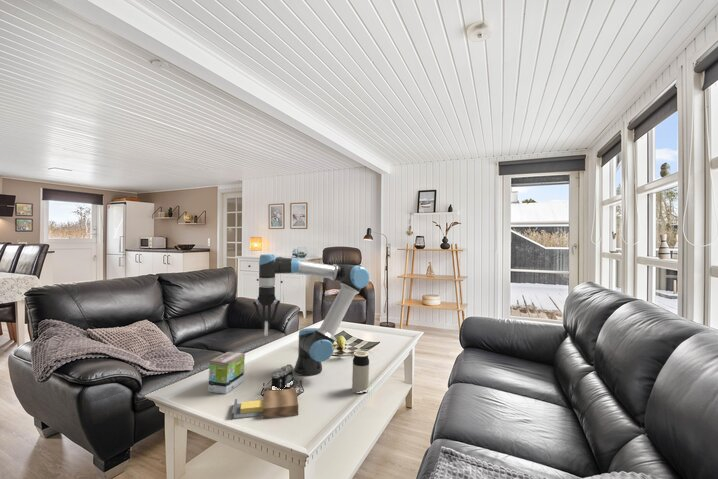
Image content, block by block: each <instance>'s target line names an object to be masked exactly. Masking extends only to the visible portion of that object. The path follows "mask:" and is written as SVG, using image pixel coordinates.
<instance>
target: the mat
mask: <svg viewBox="0 0 718 479" xmlns="http://www.w3.org/2000/svg"><path fill="white" fill-rule="evenodd" d="M241 403H242V402H241ZM241 403H238V399H237V398H235V399H234V403H233V406H232V411H231V420H238V419H249V418H254V417H255V418H256V417H257V418H258V417H263V412H253V413H243V414H240V409H241Z"/></svg>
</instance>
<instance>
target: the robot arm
mask: <svg viewBox="0 0 718 479" xmlns="http://www.w3.org/2000/svg"><path fill="white" fill-rule="evenodd" d="M258 260H259V263H258V268H259V269H258V271H259V272H258V296H257V299H255V300H253V301H252V304H253V306H254V307H255V312H256V316H257V320H258V322H261V328H262V330H264V333H263V334H264V337H268V334H269V329H271V322H272V321H275V319H276V314H277V311H278V307H279V304H280V303H281V300H280V299H277V297H276V293H275V292H276V287H275V286H276V275H279V274H298V275H304V276H305V275H306V276H312V277H317V278H325V279H330V280H331V281H334V282H339V284H340V289H339V291H338V293H337V295H336V296H335V298H334V300H333V302H332V303H331V306H330V308H329V310H328V312H327V313H326V315H325V317H324V320H323V321H322V323H321V325H320V327H319V328H318V327H317V328H316V327H311V328H310V327H308V328H302V329H300V330H299V332H298V353H297V354H298V355H297V359H296V362H295V365H294V372H295V374H297V375H300V376H308V377H309V376H314V375H315V374H316V375H318V374H317V373H319V372H320V373H322V371H323V364H322V362H326V361H328V360H330V358H331V357H332V356H333V354H334V343H335V341H336V338H335V335H336V333H337V331H338V329H339V327H340V325H341V323H342V321H343V319H344V317H345V316H346V314H347V312H348V309H349V307H350V305H351V304H352V302H353V299H354V298H355V296H356V295H358V294H360V292H361V290H362V289H364V288H365V287H367V285H368V284H369V282H370V273H369V271H368V269H366V268H365V267H363V266H361V265H353V264H337V263H333V264H326V263H321V262H313V261H307V260H300V259H298V258H295V257H289V258H288V257H282V256H277V257H276V254H271V253H270V254H265V253H264V254H260V256H259V259H258ZM259 303H260V305H261V306H262V308H261V309H262V310H261V311H262V313H260V309H259ZM273 303H274V308H273V312H272V315H271V309H272V305H273ZM266 306H267V320H266ZM261 314H262V316H261ZM320 373H319V374H320Z"/></svg>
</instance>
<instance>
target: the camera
mask: <svg viewBox="0 0 718 479" xmlns="http://www.w3.org/2000/svg"><path fill="white" fill-rule="evenodd" d="M293 369H294V366H293V365H292V364H286V365H284V366H282V367H280V368H279V369H278V370H277V372H276V373H273V374H272V376H271V387H272V386H275V387H277V388H280V389H281V390H282V389H283V388H284V387H285V385H286V384H287V383H290V382H291V381H293V380H294V381H295V378H294V377H293V372H294V371H293ZM284 389H285V388H284ZM284 389H283V390H284Z"/></svg>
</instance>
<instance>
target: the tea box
mask: <svg viewBox="0 0 718 479" xmlns="http://www.w3.org/2000/svg"><path fill="white" fill-rule="evenodd" d="M245 354H246V353H244V352H235V351H226V352H224V353H222V354H220V355H219V356H217V357H214V358H212V359H211V360H209V368H208V386H207V392H208V393H209V392H210V393H216V394H224V395H226V394H228V393H230V391H232V390H233V389H235V388H236V387H238V386H240V385H241V384H242V383H244V378H245V377H244V376H245V356H246V355H245Z"/></svg>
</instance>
